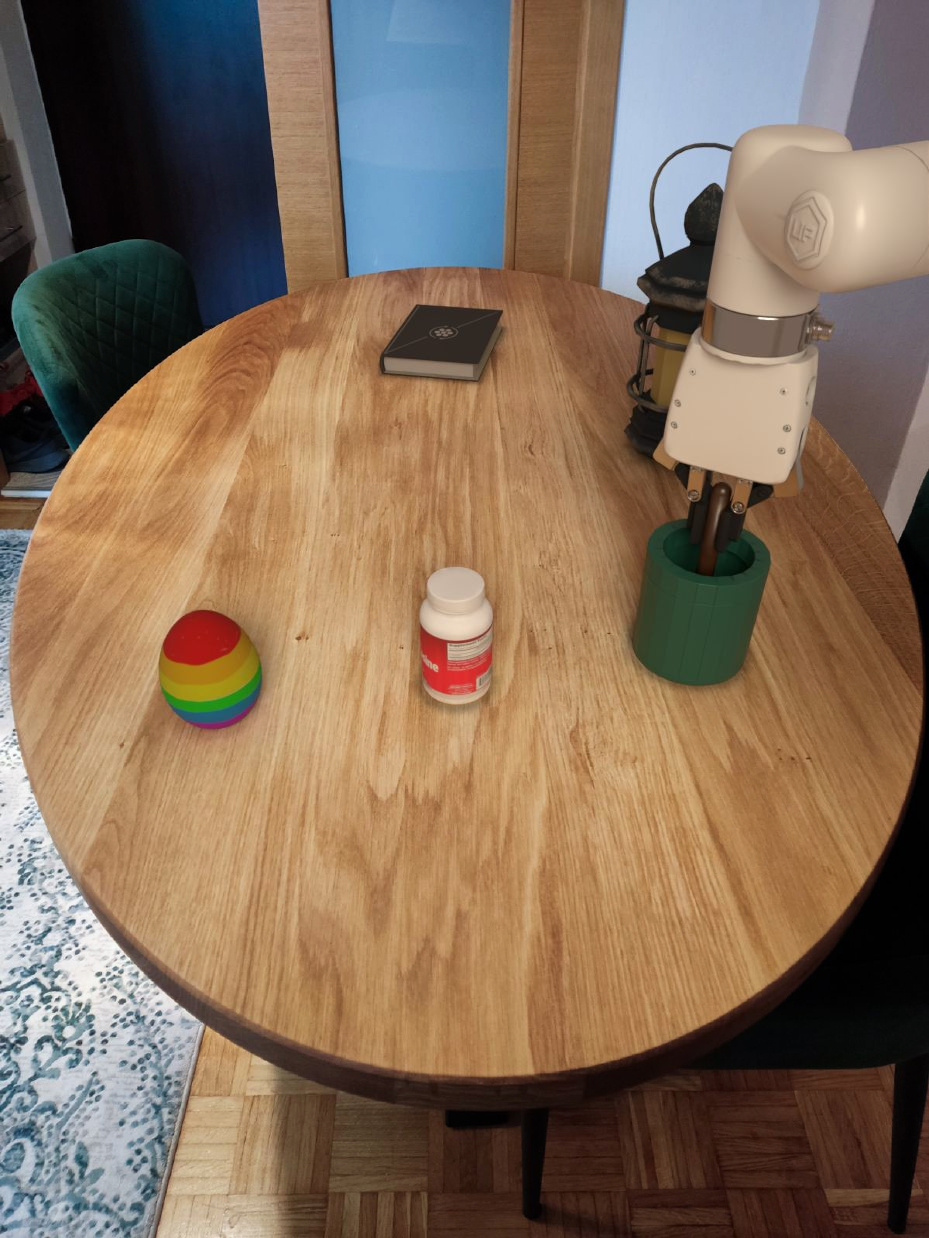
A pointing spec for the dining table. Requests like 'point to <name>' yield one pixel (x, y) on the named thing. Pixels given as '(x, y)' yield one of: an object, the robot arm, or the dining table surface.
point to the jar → (698, 606)
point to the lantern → (672, 309)
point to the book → (442, 343)
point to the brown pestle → (712, 529)
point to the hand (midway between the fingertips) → (711, 539)
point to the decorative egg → (209, 670)
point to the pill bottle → (456, 636)
